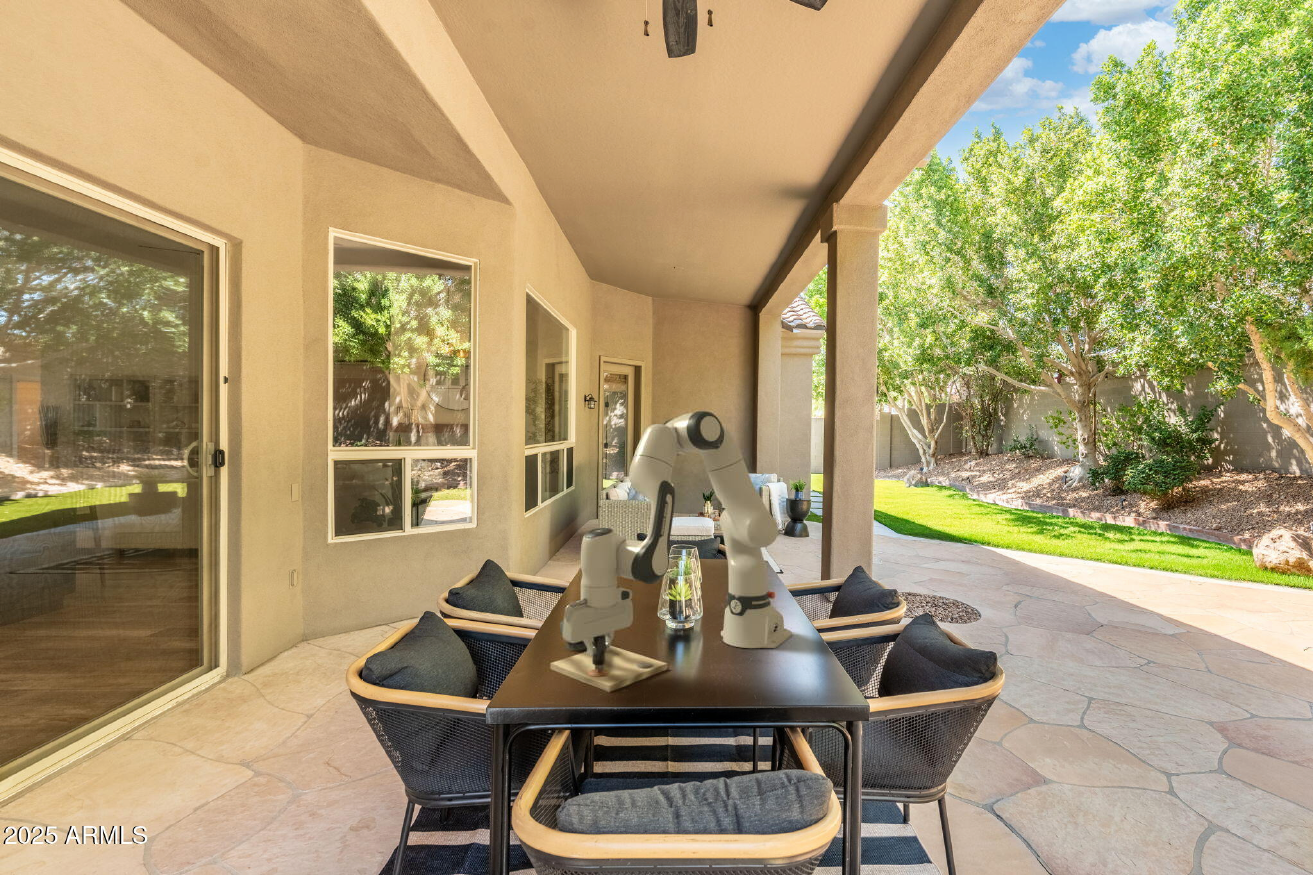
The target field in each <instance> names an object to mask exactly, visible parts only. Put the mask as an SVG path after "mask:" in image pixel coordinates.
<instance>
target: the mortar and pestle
mask: <svg viewBox="0 0 1313 875" xmlns="http://www.w3.org/2000/svg"><path fill="white" fill-rule="evenodd" d="M563 624H564V619H563V620H562V621H561V622H559V628H560V629H559V630H560V634H561V636H562V637H563ZM566 649H568V650H571V651H582V650H587V647H586V645H585V643H584V641H579V642H576V643H571V642H568V641H566Z"/></svg>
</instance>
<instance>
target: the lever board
mask: <svg viewBox="0 0 1313 875" xmlns="http://www.w3.org/2000/svg"><path fill="white" fill-rule="evenodd" d="M549 664H550V670H552V671H554V672H557V673H560V674H561V675H563V676H564V675H565V676H566V677H570V678H572V679H575V680H577V681H580V682H582V683H585V684H587V685H590V686H593V687H594V688H598V689H600V690H603V691H605V692H608V693H610V692H613V691H616V690H618V689H621V688H623V687H626V686H628V685H631V684H634V683H635V682H638V681H639V682H640V681H641V680H643V679H646V678H649V677H651V676H654V675H656V674H659V673H661V672H664V671H666V670H667V669H668V663H667V662H663V661H661V660H657V659H655V658H654V659H653V658H651V657H647V656H645V655H642V654H639V653H635V652H632V651H629V650H625V649H623V648H618V647H616V646H613V645H610V650H607V651H606V663H605V664H604V666H603V669H595V665H594V664H593V663H592V656H590V655H588V654H587V651H584V652H581V653H578V654H576V655H572V656H569V657H566V658H562V659H560V660H559V659H558V660H556V661H553V662H550V663H549Z"/></svg>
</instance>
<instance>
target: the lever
mask: <svg viewBox="0 0 1313 875" xmlns="http://www.w3.org/2000/svg"><path fill="white" fill-rule="evenodd" d="M592 645H593V647H596V654H595V655H592V663H593V664H594V665H595V669H603V666H604V664H605V663H606V635H605V634H602V635H599V636H596V637H593V642H592Z"/></svg>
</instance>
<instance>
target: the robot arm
mask: <svg viewBox="0 0 1313 875" xmlns="http://www.w3.org/2000/svg"><path fill="white" fill-rule="evenodd" d="M695 453H699V455H700V457H702V460H703V464H704V466H705V467H704V468H705V469H706V472H707V476H708V477H709V481H710V484H711V486H712V488H713V491H714V494H715V496H716V497H717V500H718V501H719V502H720V503H721V504H722V507H724V510H723V511H722V513H721V514H720V517H719V526H720V529H721V533H722V536H723V540H724V541H723V542H724V548H725V553H726V558H727V566H728V567H727V568H728V574H727V575H728V591H727V592H726V604H727V607H726V608H725V609H724V617H723V618H724V619H723V630H721V631H720V635H721V637H722V642H724V643H725V644H727V645H730V646H732V647H736V648H737V647H738V648H744V649H745V648H746V649H761V648H762V649H763V648H764V649H775V648H777V647H779V646H780V645H781V644H783V643H784V642H785V641H786V640H788V639H789V638H791V636H793V632H792V631H791V630H789V629H787V628H785V622H784V616H783V614H782V613H781V612H780V611H778V610H777V609H776V608H775V607H774V606H773V605H772V604H771V600H773V599H775V596H776V593H775V591H769V590H767V589H768V572H767V570H768V568H767V567H768V566H767V563H766V561H765V559H764V557H763V556H764V555H763V553H762V548H767V547H769V546H771V545H772V544H774V543H775V541H776V539H777V537H778V536H779V535H778V534H779V526H778V522H777V521H776V519H775V518H774V517H773V516H772V515H771V513H770V511H769V510H768V508H767V507H766V504H765V503H764V501H763V499H762V498H761V496H760V494H759V492H758V491H757V489H756V488H755V485H754V483H753V481H752V478H751V476H750V473H749V470H748V468H747V465H746V463H745V460H744V458H743V455H742V452H741V450H740V448H739V445H738V443H737V441H736V440H735V438H734V436H733V435H732V433H731V431H730V430H729V429H728V428H727V427H724V426H723V425H722V422H721V421H720V419H719V418H718V416H717V415H715V414H714V413H712V412H710V411H707V410H699V411H696V412H689V413H685V414H682V415H680V416H677V417H675V418H671V419H669V420H667V421H665V422H663V423H662V424H661V423H656V424H655V423H653V424H651V425H649V426H647V428H646V429H645V431H644V432H643V434H642V435H641V438H640V440H639V441H638V443H637V447H636V449H635V451H634V454H633V458H632V461H631V463H630V467H629V472H628V473H629V474H628V478H629V482H630V484H631V486H632V487H633V489H634V490H635V491H636V492H637V493H638V494H640V496H643V497H644V498H646V499H647V500H648V501H649V503H650V506H651V511H650V517H649V523H648V524H649V525H648V531H647V537H646V538H645V540H638V539H630V538H627V537H624V536H622V535H619V534H618V533H616V532H615V531H614V530H613V529H612V528H610V527H599V528H592V529H591V530H588V531H587V532H585V534H584V535H583V537H582V540H581V545H580V546H581V547H580V570H581V574H582V575H581V579H580V580H581V581H580V600H577V601H571V602H569V604H568V605H567V606H566V608H565V609H564V617H563V620H564V624H563V636H562V638H563V640H564V641H565V642H567V641H568V642H571V643H576V642H579V641H584V643H585V645H586V647H587V649H586V652H587V654H588V655H590V656H592V655H595V654H596V647H593V645H592V642H593V637H596V636H599V635H602V634H604V635H606V651H607V650H610V646H611V643H612V641H613V638H614V637H615V631H619V630H621V629H625V628H628V627H631V625H632V624H633V622H634V621H633V620H634V607H633V602H632V598H633V591H632V590H631V589H627V588H624V587H621V586H618V584H617V583H618V581H617V578H618V577H622V578H624V579H629V580H635V581H637V582H640V583H643V584H646V585H655V584H657V583H658V582H659V581H661V580H662V579H663V578H664V576H665V575H666V574H667V572H668V569H669V566H670V540H671V536H672V535H671V534H672V528H673V520H674V512H675V506H676V504H675V503H676V490H675V487H674V486H673V484H672V473H673V469H674V466H675V462H676V458H677V457H678V456H681V455H691V454H692V455H693V454H695Z"/></svg>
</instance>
